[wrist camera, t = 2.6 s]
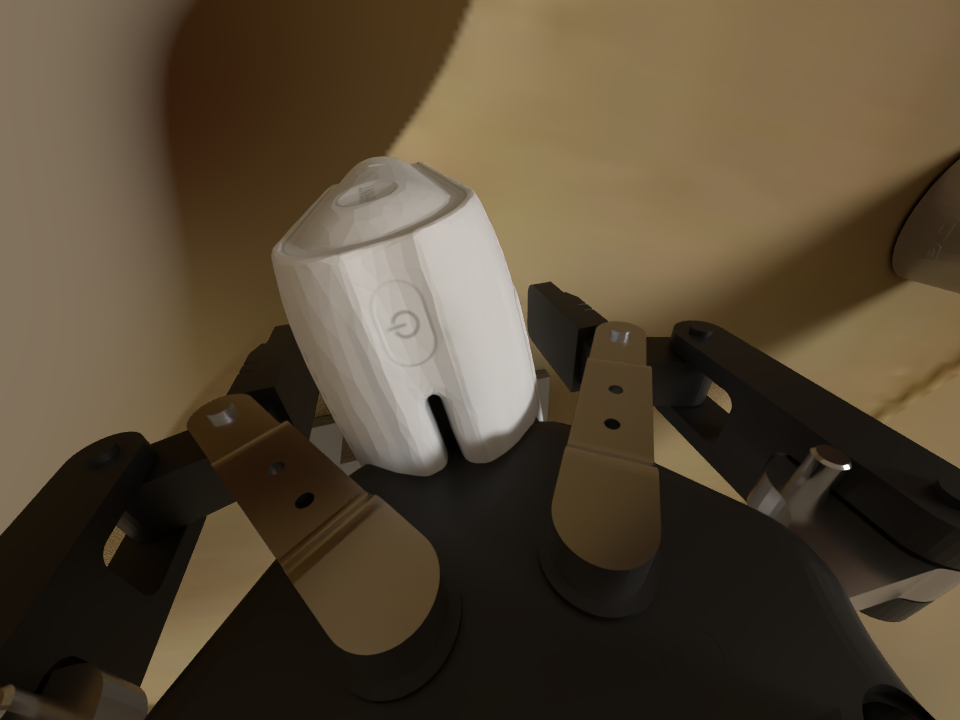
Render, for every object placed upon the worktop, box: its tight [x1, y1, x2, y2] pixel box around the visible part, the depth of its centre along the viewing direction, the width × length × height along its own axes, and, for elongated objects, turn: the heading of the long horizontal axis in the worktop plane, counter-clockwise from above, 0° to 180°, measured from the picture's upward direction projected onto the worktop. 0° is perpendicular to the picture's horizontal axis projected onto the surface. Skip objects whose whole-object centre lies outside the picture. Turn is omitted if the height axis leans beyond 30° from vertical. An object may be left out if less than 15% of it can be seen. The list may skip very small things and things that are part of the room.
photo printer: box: [271, 157, 543, 476], centre depth 11 cm, size 10×4×12 cm, turn 12°
